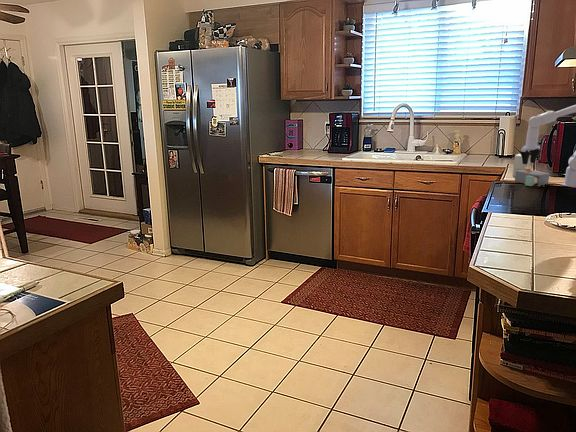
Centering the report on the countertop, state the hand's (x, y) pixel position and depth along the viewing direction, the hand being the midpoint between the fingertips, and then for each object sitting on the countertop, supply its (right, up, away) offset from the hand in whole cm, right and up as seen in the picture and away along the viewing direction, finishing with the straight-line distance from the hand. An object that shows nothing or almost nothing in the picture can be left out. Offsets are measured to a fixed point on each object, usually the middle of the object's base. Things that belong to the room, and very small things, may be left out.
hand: (528, 163), depth 264 cm
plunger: (0, -6, +2) cm, 7 cm away
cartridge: (+1, -12, -4) cm, 13 cm away
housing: (+2, -11, +1) cm, 11 cm away
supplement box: (+4, -6, +17) cm, 18 cm away
